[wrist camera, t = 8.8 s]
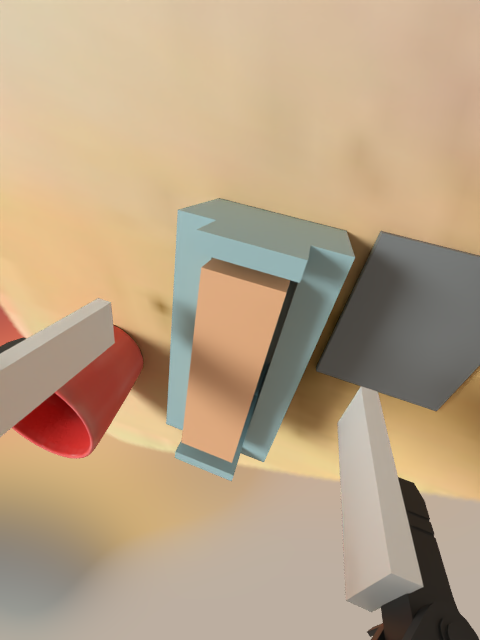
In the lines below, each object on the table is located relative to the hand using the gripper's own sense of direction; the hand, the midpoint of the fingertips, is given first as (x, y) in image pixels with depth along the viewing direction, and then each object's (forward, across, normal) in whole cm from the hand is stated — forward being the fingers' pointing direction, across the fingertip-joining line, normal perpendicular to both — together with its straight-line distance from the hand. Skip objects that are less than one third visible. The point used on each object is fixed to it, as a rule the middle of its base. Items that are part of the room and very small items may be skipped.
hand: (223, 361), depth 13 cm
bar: (+5, 0, -3) cm, 5 cm away
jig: (+9, 0, -3) cm, 10 cm away
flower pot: (+10, -14, -12) cm, 21 cm away
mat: (+9, +12, 0) cm, 15 cm away
